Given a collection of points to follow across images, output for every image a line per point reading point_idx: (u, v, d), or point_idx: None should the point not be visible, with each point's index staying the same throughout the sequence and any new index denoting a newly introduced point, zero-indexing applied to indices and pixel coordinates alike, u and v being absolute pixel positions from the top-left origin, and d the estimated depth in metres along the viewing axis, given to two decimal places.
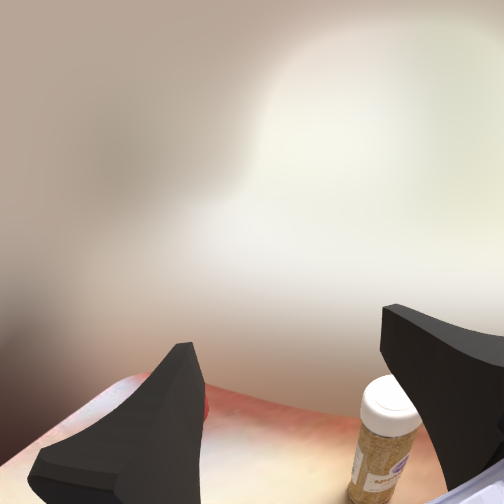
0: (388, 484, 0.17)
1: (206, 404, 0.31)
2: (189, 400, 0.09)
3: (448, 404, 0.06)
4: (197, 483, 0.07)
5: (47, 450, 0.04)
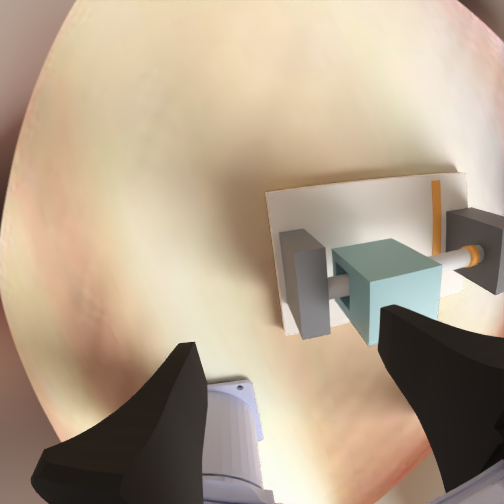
0: None
1: None
2: (192, 400, 0.09)
3: (446, 405, 0.06)
4: (200, 483, 0.07)
5: (51, 451, 0.04)
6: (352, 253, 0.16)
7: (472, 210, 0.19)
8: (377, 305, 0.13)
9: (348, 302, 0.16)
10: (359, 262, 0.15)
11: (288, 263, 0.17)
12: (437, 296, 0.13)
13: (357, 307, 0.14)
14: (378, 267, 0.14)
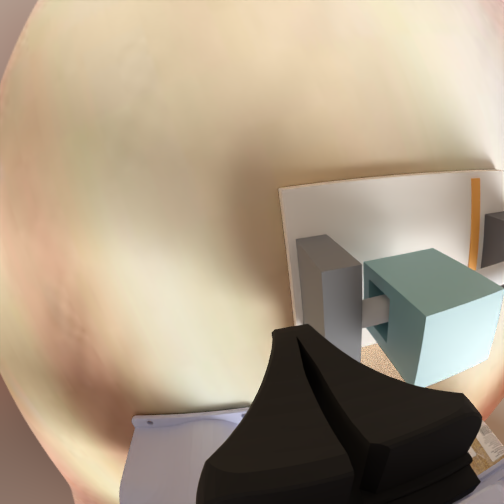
0: None
1: None
2: None
3: None
4: None
5: (220, 459, 0.04)
6: (391, 269, 0.12)
7: None
8: (430, 344, 0.09)
9: (383, 329, 0.13)
10: (404, 284, 0.11)
11: (309, 281, 0.13)
12: (493, 325, 0.09)
13: (400, 342, 0.10)
14: (430, 292, 0.10)
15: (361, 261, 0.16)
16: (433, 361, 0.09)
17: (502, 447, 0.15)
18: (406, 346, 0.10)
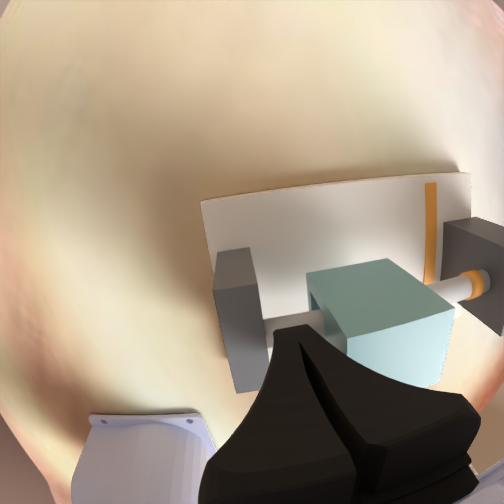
0: None
1: None
2: None
3: None
4: None
5: (222, 459, 0.04)
6: (331, 282, 0.12)
7: (477, 221, 0.15)
8: None
9: None
10: (338, 299, 0.11)
11: None
12: (445, 346, 0.09)
13: None
14: (364, 310, 0.10)
15: (291, 274, 0.16)
16: None
17: None
18: None
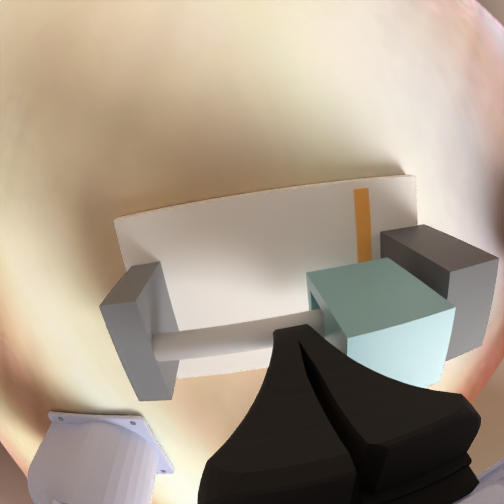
0: None
1: None
2: None
3: None
4: None
5: (221, 459, 0.04)
6: (332, 282, 0.12)
7: (422, 230, 0.15)
8: None
9: None
10: (339, 299, 0.11)
11: None
12: (445, 346, 0.09)
13: None
14: (364, 309, 0.10)
15: (203, 288, 0.16)
16: None
17: None
18: None
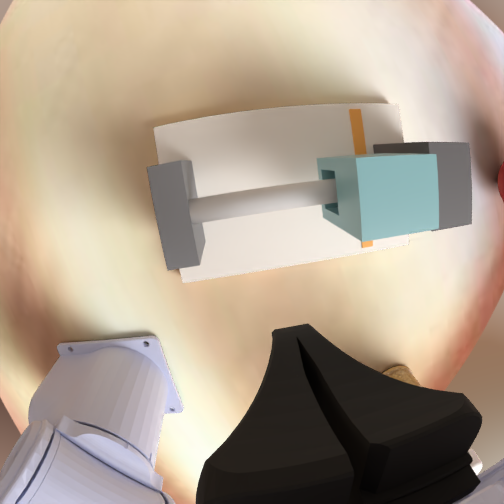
0: None
1: None
2: None
3: None
4: None
5: (219, 460, 0.04)
6: None
7: None
8: (367, 188, 0.11)
9: (337, 211, 0.15)
10: None
11: None
12: (436, 192, 0.12)
13: (346, 202, 0.13)
14: (365, 156, 0.12)
15: (227, 184, 0.18)
16: (375, 209, 0.11)
17: None
18: (350, 201, 0.12)
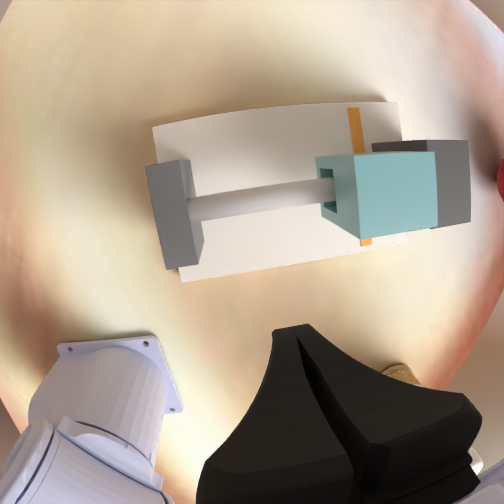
0: None
1: None
2: None
3: None
4: None
5: (220, 460, 0.04)
6: (336, 155, 0.14)
7: None
8: (365, 185, 0.11)
9: (336, 209, 0.15)
10: (343, 155, 0.13)
11: None
12: (434, 190, 0.12)
13: (344, 200, 0.13)
14: (363, 154, 0.12)
15: (226, 184, 0.18)
16: (374, 207, 0.11)
17: None
18: (348, 199, 0.12)
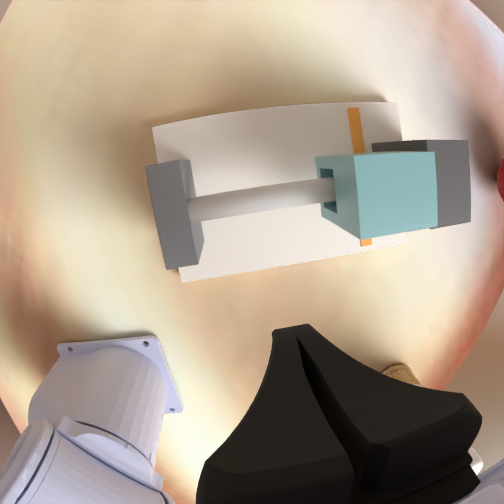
0: None
1: None
2: None
3: None
4: None
5: (220, 460, 0.04)
6: (336, 155, 0.14)
7: None
8: (365, 185, 0.11)
9: (336, 209, 0.15)
10: (343, 155, 0.13)
11: None
12: (434, 190, 0.12)
13: (344, 200, 0.13)
14: (363, 154, 0.12)
15: (226, 184, 0.18)
16: (374, 207, 0.11)
17: None
18: (348, 199, 0.12)
